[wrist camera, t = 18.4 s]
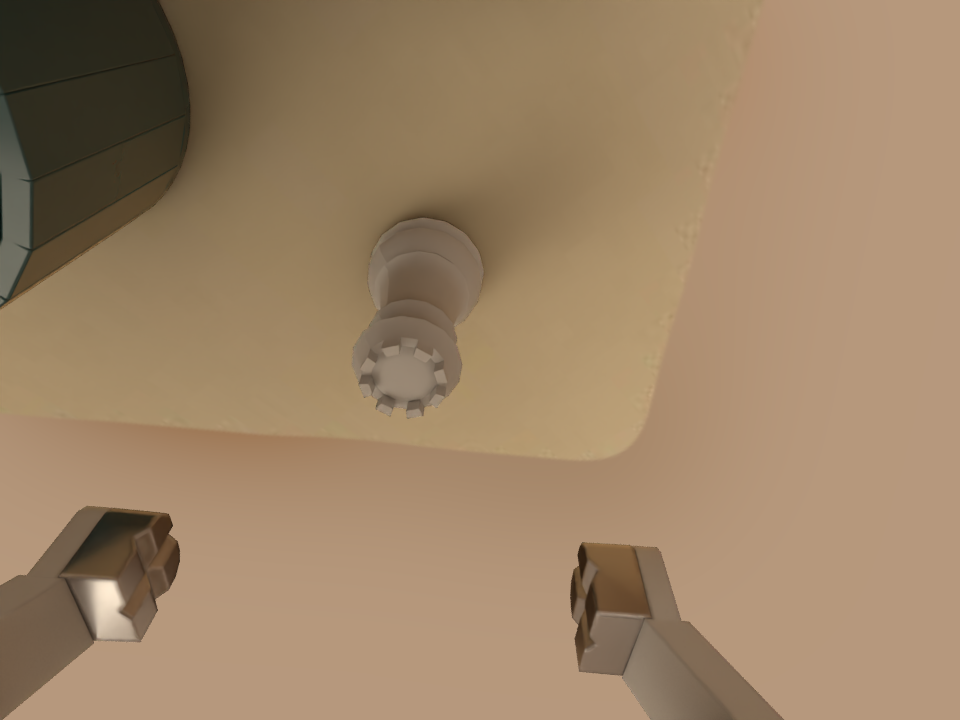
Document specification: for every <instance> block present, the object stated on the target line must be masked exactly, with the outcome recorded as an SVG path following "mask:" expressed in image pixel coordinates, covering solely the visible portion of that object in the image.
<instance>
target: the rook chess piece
mask: <svg viewBox="0 0 960 720" xmlns="http://www.w3.org/2000/svg"><path fill="white" fill-rule="evenodd" d="M483 275H484V270H483V266H482V262H481V257H480V253H479V251H478V249H477V248H476V247H475V245H474V244H473V243H472V241H471V240H470V239H469V237H468V236H467V235H466V233H464V232H462V231H461V230H459V229H457V228H456V227H454V226H452V225H451V224H449V223H448V222H446V221H441V220H435V219H429V218H423V217H422V218H417V219H412V220H408V221H403V222H399V223H398V224H396V225H395V226H394V227H392V228H391V229H389V230H388V231H387V232H385V233H384V234H382V235H381V237H380V239H379V241H378V242H377V244H376V246H375V248H374V249H373V251H372V253H371V261H370V263H369V271H368V288H369V291H370V294H371V296H372V299H373V302H374V305H375V307H376V308H377V309H378V311H377V313H376V315H375V316H374V318H373V320H372V321H371V323H370V325H369V328H367V329H366V330H364V331H363V332H362V334H361V335H360V337H359V338H358V340H357V342H356V343H355V345H354V347H353V356H352V367H353V370H354V372H355V375H356V377H357V379H358V382H359V387H360V389H361V391H362V394H363V396H364V398H365V397H368V396H370V395H371V396H372V397H374V398H376V399H377V400H378V401H377V405H376V408H375V409H376V410H378V411H380V412H382V413H384V414H386V415H388V416H391V413H392V411H393V407H396V408H403V409H406V414H407V419H409V418H415V417H420V416H423V414H424V407H426V406H432V405H433V406H434V407H435V408H437V407H438V406H439V404H440V403H441V402H442V400H443V399H444V398H446V397H447V396H449V394H450V393H451V392H452V390H453V389H454V388H455V386H456V385H457V384H458V382H459V379H460V374H461V369H462V361H461V358H460V354H459V351H458V347H457V345H456V341H457V336H456V333H455V329H454V327H455V326H457V325H459V324H460V323H462V322H463V321H465V319H466V318H467V317H468V315H469V314H470V312H471V311H472V310H473V308H474V307H475V305H476V304H477V303H478V300H479V295H480V290H481V285H482V280H483Z"/></svg>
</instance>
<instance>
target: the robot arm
mask: <svg viewBox="0 0 960 720" xmlns="http://www.w3.org/2000/svg"><path fill="white" fill-rule="evenodd" d="M172 526H173V524H172V521H171V518H170V516H169V514H167V513H160V512H150V511H140V510H129V509H119V508H106V507H95V506H86V507H84V508H83V509H81V510H79V511H78V512H77V513H76V514H75V516H74V517H73V518H72V519H71V521H70V522H69V523H68V524H67V526H66V527H65V528H64V529H63V531H62V532H61V533H60V534H59V536H58V537H57V538H56V539H55V541H54V542H53V543H52V544H51V546H50V547H49V548H48V549H47V551H46V552H45V553H44V554H43V556H42V557H41V558H40V559H39V561H38V562H37V563H36V564H35V566H34V567H33V568H32V569H31V571H30V572H29V573H28V574H27V576H26V575H25V576H23V575H18V576H16V577H14V578H13V579H11V580H9V581H7V582H6V583H4V584H2V585H0V720H2V719H4V718H5V717H6V716H7V715H8V714H9V713H11V712H12V711H13V710H14V709H16V708H17V707H18V706H19V705H20V704H22V703H23V702H24V701H25V700H26V699H28V698H29V697H30V696H31V695H32V694H34V693H35V692H36V691H37V690H38V689H40V688H41V687H42V686H43V685H44V684H46V683H47V682H48V681H49V680H50V679H52V678H53V677H54V676H55V675H56V674H58V673H59V672H60V671H61V670H62V669H64V668H65V667H66V666H67V665H68V664H70V663H71V662H72V661H73V660H74V659H76V658H77V657H78V656H79V655H80V654H82V653H83V652H84V651H85V650H86V649H88V648H89V647H90V646H91V645H92V644H93V643H94V641H120V642H141V640H142V638H143V636H144V635H145V633H146V631H147V629H148V627H149V625H150V624H151V622H152V620H153V618H154V616H155V614H156V613H157V611H158V609H157V605H156V601H155V599H156V598H158V597H159V596H161V595H162V594H164V593H165V592H166V591H168V590H169V588H170V586H171V585H172V583H173V581H174V579H175V577H176V573H177V570H178V566H179V562H180V549H179V545H178V541H177V540H175V539H174V538H173V537H172V536H171V535H169V534H168V533H169V531H170V530H171V528H172ZM578 561H579V566H578V567H577V568H575V569H574V571H573V576H572V580H571V594H570V596H571V597H570V599H571V612H572V618H573V619H574V620H575V622H576V623H577V624H578V628H577V632H576V636H575V645H576V653H577V660H578V667H579V671H580V672H589V673H600V674H610V675H622V676H623V677H622V678H623V680H624V681H625V683H626V684H627V686H628V687H629V688H630V690H631V692H632V693H633V694H634V696H635V697H636V699H637V700H638V702H639V703H640V705H641V706H642V708H643V709H644V711H645V712H646V713H647V715H648V716H649V718H650V719H651V720H784V719H783V718H782V717H781V716H780V715H779V714H778V713H777V712H776V711H775V710H774V709H773V708H772V707H771V706H770V705H769V704H768V703H767V702H766V701H765V700H764V699H763V698H762V696H761V695H760V694H758V692H757V691H756V690H755V689H754V688H753V687H752V686H751V685H750V684H749V683H748V682H747V681H746V680H745V679H744V678H743V677H742V676H741V675H740V674H739V673H738V672H737V671H736V670H735V669H734V668H733V667H732V666H731V665H730V663H729V662H728V661H727V660H726V659H725V658H724V657H723V656H722V655H721V654H720V653H719V652H718V651H717V650H716V649H715V648H714V647H713V646H712V645H711V644H710V643H709V642H708V641H707V640H706V639H705V638H704V637H703V636H702V635H701V634H700V633H699V631H698V630H697V629H696V628H695V627H694V626H693V625H692V624H691V623H690V622H687V621H681V618H680V615H679V611H678V608H677V604H676V602H675V598H674V595H673V591H672V588H671V585H670V581H669V578H668V575H667V571H666V568H665V565H664V561H663V558H662V555H661V552H660V551H659V549H658V548H657V547H643V546H642V547H641V546H630V545H618V544H600V543H585V542H583V543H582V544H581V546H580V548H579V551H578Z"/></svg>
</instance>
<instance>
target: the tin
mask: <svg viewBox="0 0 960 720" xmlns="http://www.w3.org/2000/svg"><path fill="white" fill-rule="evenodd" d="M189 129H190V102H189V93H188V83H187V79H186V74H185V70H184V66H183V61H182V57H181V55H180V52H179V49H178V46H177V43H176V40H175V37H174V34H173V32H172V30H171V27H170V25H169V23H168V21H167V19H166V17H165V14H164V12H163V10H162V8H161V6H160V4H159V3H158V1H157V0H0V310H1V309H2V308H4V307H5V306H7V305H8V304H10V303H11V302H13V301H14V300H16V299H17V298H19V297H20V296H22V295H23V294H25V293H26V292H28V291H29V290H31V289H32V288H34V287H35V286H37V285H38V284H40V283H41V282H43V281H44V280H46V279H47V278H49V277H50V276H52V275H53V274H55V273H56V272H58V271H59V270H61V269H62V268H64V267H65V266H67V265H68V264H70V263H71V262H73V261H74V260H76V259H77V258H79V257H80V256H82V255H83V254H85V253H86V252H88V251H89V250H91V249H92V248H94V247H95V246H96V245H98V244H99V243H101V242H102V241H104V240H105V239H107V238H108V237H110V236H111V235H113V234H114V233H116V232H117V231H119V230H120V229H122V228H123V227H125V226H126V225H128V224H129V223H130V222H132V221H133V220H135V219H136V218H137V217H139V216H140V215H141V214H143V213H144V212H146V211H147V210H149V209H150V208H151V207H152V206H154V205H155V204H156V202H158V201H159V200H160V199H161V198H162V197H163V195H164V194H165V193H166V191H167V190H168V189H169V187H170V186H171V185H172V183H173V181H174V179H175V177H176V175H177V173H178V171H179V169H180V167H181V164H182V161H183V158H184V155H185V152H186V148H187V142H188V136H189Z"/></svg>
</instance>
